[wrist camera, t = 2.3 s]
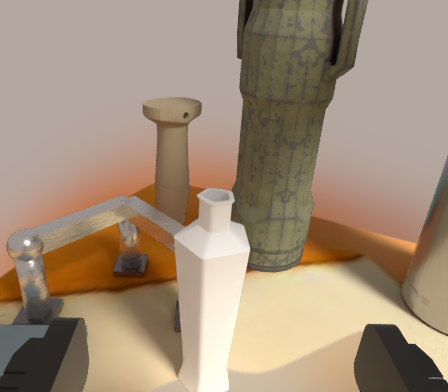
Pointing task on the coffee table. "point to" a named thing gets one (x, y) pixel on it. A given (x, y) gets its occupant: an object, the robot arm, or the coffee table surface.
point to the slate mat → (17, 339)
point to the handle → (172, 152)
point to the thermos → (286, 116)
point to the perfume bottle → (209, 290)
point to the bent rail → (75, 229)
